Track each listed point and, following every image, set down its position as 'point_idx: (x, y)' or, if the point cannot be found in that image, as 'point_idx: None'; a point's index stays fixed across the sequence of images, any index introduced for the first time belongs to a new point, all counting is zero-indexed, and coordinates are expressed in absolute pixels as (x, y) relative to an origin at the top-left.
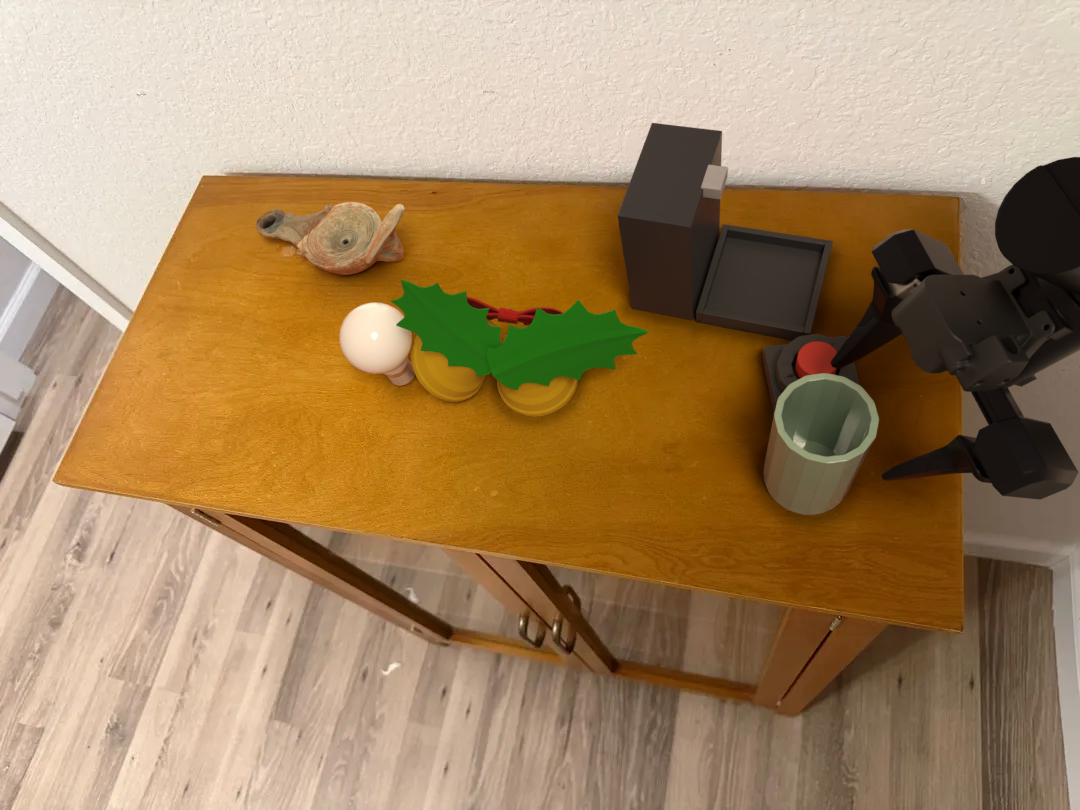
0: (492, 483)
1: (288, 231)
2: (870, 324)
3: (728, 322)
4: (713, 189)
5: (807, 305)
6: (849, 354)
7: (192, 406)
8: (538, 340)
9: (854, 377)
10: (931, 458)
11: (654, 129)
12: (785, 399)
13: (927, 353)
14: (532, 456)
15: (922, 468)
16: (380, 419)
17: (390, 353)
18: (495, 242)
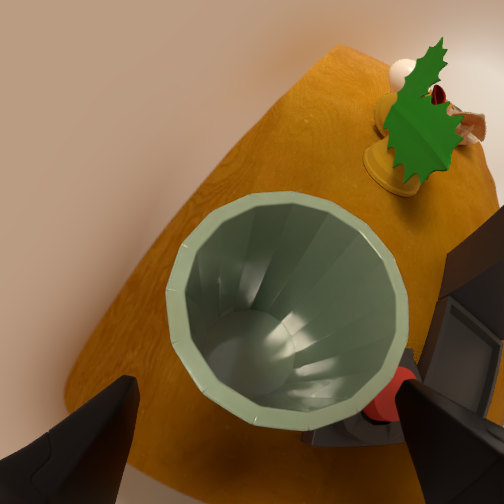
0: (313, 122)
1: (457, 111)
2: (492, 440)
3: (436, 326)
4: None
5: None
6: (426, 408)
7: (369, 67)
8: (423, 115)
9: (353, 442)
10: (52, 461)
11: None
12: (362, 233)
13: None
14: (330, 145)
15: (56, 431)
16: (363, 102)
17: (400, 71)
18: (475, 193)
